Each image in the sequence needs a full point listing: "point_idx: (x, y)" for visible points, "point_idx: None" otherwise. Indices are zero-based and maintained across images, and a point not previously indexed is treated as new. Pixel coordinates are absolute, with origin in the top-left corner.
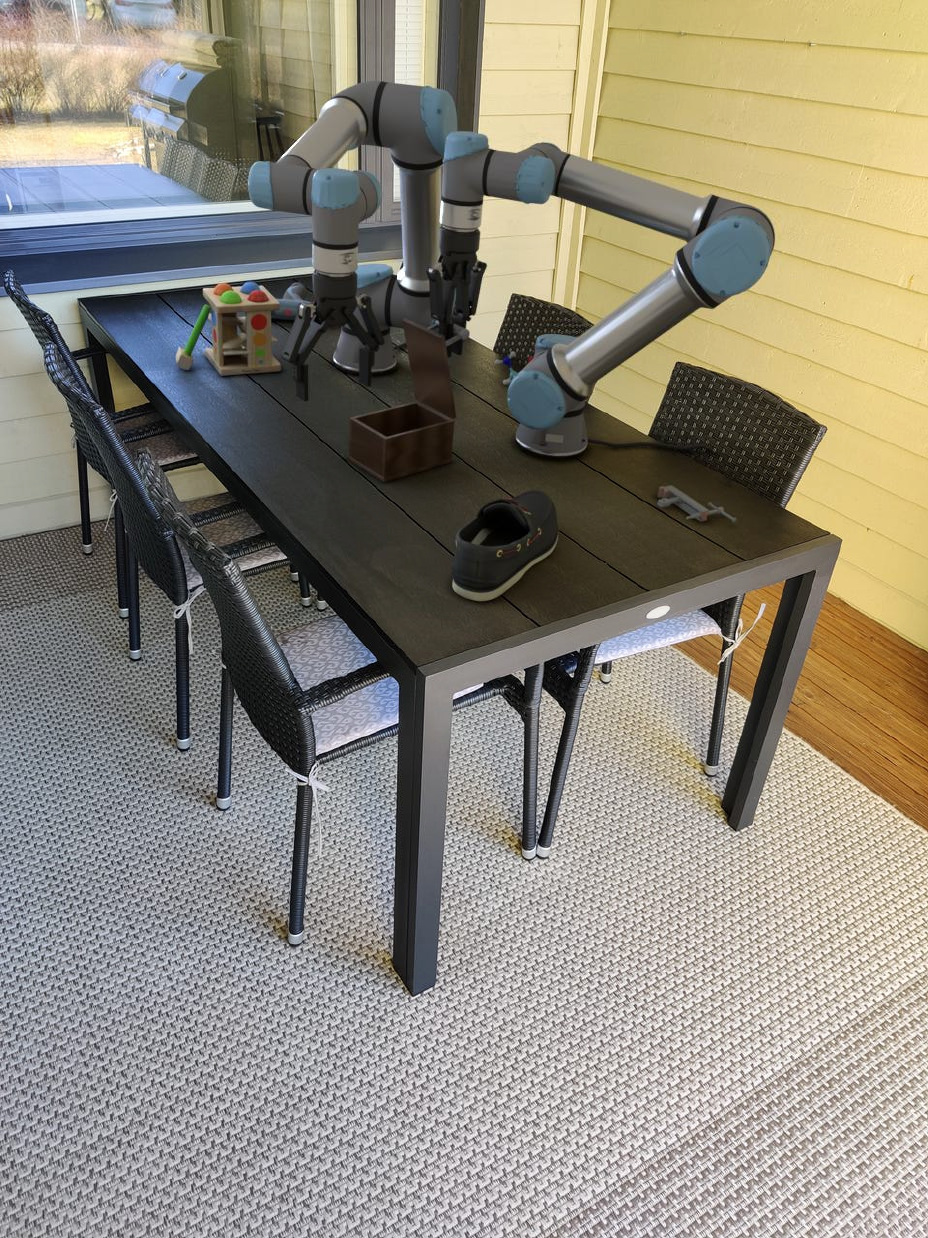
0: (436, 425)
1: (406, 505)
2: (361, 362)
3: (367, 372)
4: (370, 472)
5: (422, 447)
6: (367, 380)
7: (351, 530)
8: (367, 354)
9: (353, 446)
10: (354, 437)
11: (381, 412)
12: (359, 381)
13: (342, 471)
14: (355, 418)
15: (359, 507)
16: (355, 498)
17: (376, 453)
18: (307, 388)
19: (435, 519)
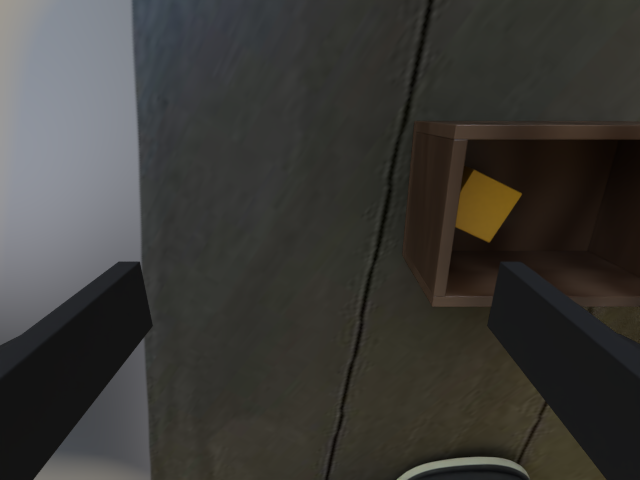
0: (615, 306)
1: (373, 342)
2: (570, 349)
3: (527, 373)
4: (406, 209)
5: None
6: (502, 344)
7: (237, 360)
8: (614, 476)
9: (424, 144)
10: (432, 151)
11: (579, 139)
12: (501, 269)
13: (361, 166)
14: (468, 139)
15: (295, 308)
16: (309, 278)
17: (419, 248)
18: (116, 366)
19: (380, 396)
